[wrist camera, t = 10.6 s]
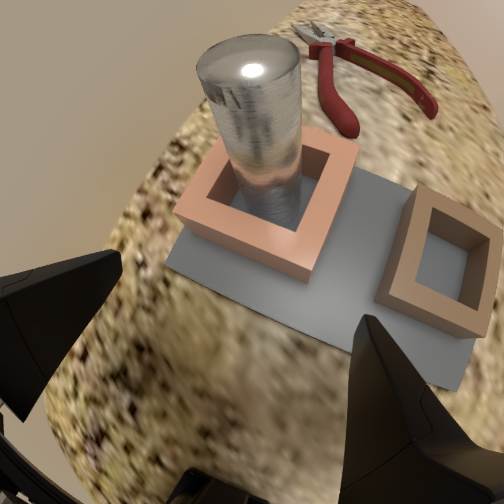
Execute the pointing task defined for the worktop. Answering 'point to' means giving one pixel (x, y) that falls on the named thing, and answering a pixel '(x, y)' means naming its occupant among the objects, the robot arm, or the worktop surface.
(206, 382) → the worktop surface
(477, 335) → the dock plate
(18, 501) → the robot arm
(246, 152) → the peg
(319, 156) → the socket
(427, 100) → the pliers
